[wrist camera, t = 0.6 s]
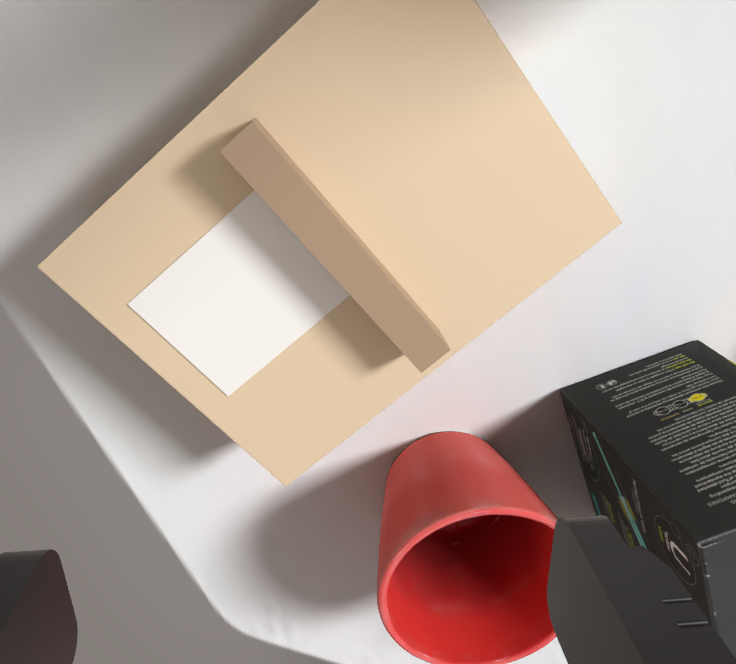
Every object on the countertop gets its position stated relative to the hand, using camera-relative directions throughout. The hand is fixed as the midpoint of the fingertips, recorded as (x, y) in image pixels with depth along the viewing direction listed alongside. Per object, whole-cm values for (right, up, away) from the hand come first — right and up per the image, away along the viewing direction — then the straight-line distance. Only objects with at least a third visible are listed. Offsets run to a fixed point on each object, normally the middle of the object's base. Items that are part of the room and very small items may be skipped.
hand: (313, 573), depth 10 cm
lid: (0, +8, +17) cm, 19 cm away
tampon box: (+19, -2, +31) cm, 36 cm away
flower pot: (+6, -6, +31) cm, 32 cm away
